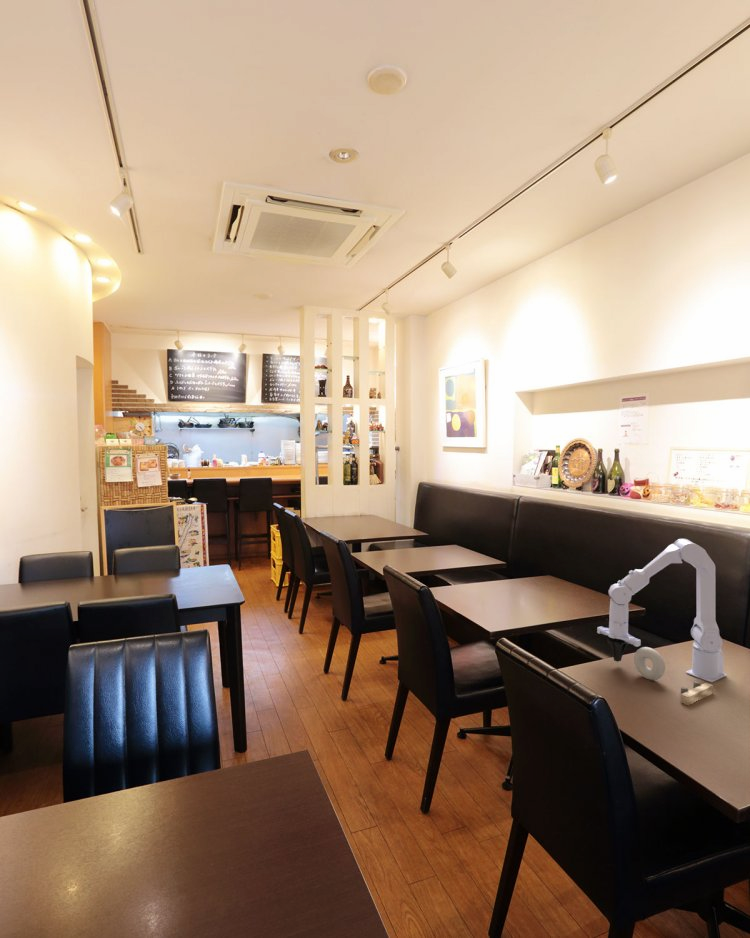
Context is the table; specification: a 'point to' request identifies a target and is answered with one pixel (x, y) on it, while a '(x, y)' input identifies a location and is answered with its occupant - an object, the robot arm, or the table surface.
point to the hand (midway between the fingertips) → (617, 660)
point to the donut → (656, 660)
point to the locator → (696, 692)
